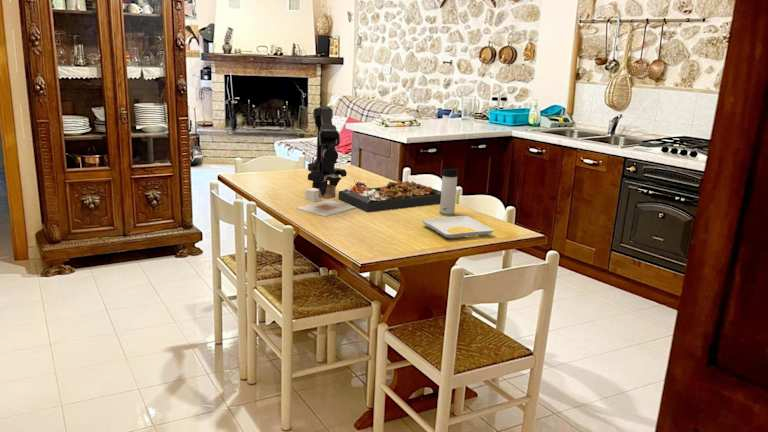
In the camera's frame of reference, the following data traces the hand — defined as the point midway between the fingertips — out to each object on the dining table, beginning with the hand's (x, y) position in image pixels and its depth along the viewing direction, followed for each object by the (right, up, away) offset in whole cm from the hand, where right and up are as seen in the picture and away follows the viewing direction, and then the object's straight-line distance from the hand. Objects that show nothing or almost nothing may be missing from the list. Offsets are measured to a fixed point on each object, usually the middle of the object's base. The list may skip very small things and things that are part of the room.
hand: (326, 194), depth 263 cm
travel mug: (+51, -8, +3) cm, 52 cm away
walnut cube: (0, -1, 0) cm, 1 cm away
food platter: (+29, -3, +21) cm, 36 cm away
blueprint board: (0, -6, +1) cm, 6 cm away
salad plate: (+52, -15, -22) cm, 59 cm away
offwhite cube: (-7, -2, +15) cm, 17 cm away
